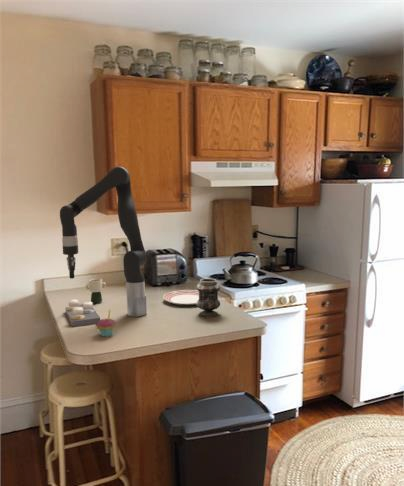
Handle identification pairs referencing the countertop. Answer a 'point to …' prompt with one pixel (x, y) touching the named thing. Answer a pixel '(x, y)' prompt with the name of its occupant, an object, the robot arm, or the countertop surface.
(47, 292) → the countertop surface
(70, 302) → the button back
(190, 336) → the countertop surface
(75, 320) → the button board
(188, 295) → the dinner plate
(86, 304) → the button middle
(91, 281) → the character mug
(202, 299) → the apothecary jar
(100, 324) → the cupcake
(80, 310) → the button front
